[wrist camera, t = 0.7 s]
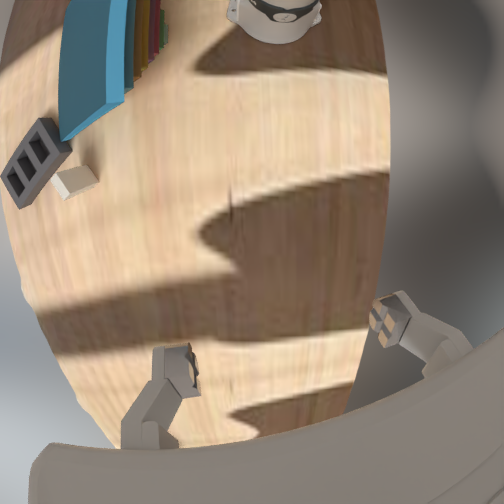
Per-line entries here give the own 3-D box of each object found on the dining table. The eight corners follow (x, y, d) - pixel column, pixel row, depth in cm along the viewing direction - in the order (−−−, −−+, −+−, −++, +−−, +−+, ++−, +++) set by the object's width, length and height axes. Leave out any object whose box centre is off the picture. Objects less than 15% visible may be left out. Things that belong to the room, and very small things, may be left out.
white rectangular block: (81, 170, 50) (50, 180, 38) (87, 164, 49) (55, 172, 38) (93, 187, 51) (63, 200, 40) (99, 181, 51) (69, 193, 40)
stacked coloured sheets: (128, 129, 57) (226, 100, 35) (60, 142, 45) (106, 103, 23) (129, 10, 43) (220, -63, 21) (66, 10, 32) (131, -87, 9)
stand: (12, 172, 47) (0, 176, 43) (51, 117, 44) (38, 117, 39) (31, 204, 51) (19, 209, 46) (72, 151, 48) (60, 153, 43)
